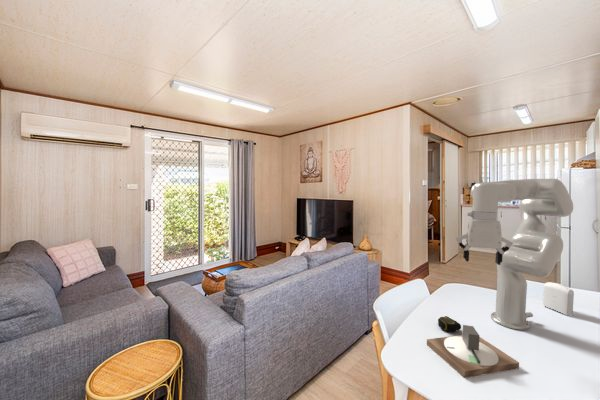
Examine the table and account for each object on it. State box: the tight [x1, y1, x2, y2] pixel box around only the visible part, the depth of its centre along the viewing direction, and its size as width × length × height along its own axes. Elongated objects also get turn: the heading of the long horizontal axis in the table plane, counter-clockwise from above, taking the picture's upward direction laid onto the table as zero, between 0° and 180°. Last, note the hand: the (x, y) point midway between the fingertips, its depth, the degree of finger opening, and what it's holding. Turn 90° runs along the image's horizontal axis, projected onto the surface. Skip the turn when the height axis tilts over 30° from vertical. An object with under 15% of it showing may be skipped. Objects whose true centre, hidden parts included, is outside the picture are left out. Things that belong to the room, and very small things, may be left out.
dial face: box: [444, 335, 499, 366], centre depth 85 cm, size 15×15×1 cm
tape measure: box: [437, 315, 462, 333], centre depth 101 cm, size 7×7×4 cm
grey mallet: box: [461, 324, 481, 363], centre depth 82 cm, size 10×3×6 cm, turn 164°
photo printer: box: [542, 281, 575, 316], centre depth 117 cm, size 10×4×12 cm, turn 13°
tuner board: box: [426, 334, 520, 379], centre depth 85 cm, size 20×16×2 cm
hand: (481, 262), depth 95 cm, fingers open, 9 cm apart
